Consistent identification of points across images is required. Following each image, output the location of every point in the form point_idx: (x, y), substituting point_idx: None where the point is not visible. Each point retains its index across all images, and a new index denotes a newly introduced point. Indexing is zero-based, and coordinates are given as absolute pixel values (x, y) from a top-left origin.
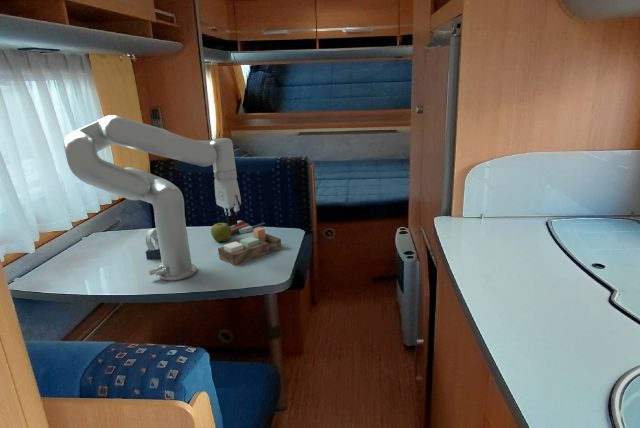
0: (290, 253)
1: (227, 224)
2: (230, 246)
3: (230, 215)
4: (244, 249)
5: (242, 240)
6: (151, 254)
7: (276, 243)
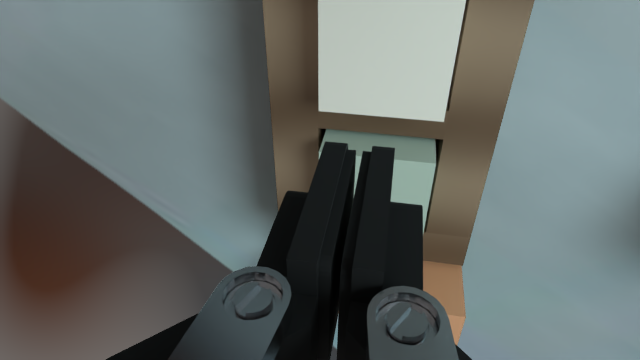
0: (215, 242)
1: (385, 151)
2: (371, 15)
3: (236, 279)
4: (300, 88)
5: (409, 167)
6: None
7: None
